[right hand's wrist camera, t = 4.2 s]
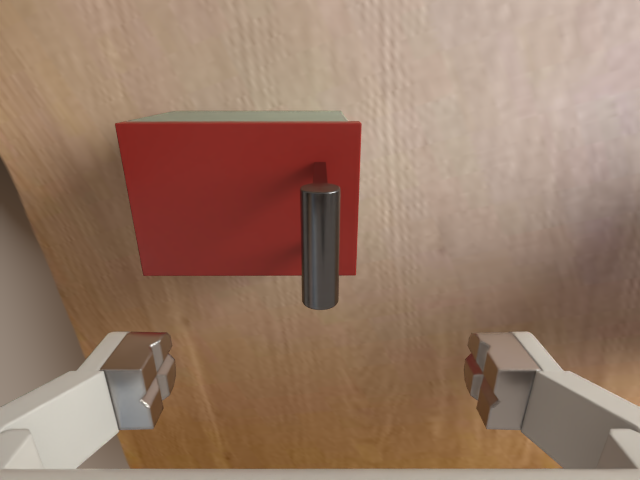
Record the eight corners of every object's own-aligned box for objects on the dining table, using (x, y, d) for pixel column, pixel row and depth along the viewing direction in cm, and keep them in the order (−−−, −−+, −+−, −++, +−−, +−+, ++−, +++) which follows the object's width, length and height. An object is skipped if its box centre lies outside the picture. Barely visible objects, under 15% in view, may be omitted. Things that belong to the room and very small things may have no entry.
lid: (359, 121, 23) (380, 141, 15) (354, 267, 27) (369, 346, 19) (123, 121, 23) (22, 142, 15) (150, 268, 27) (78, 347, 19)
